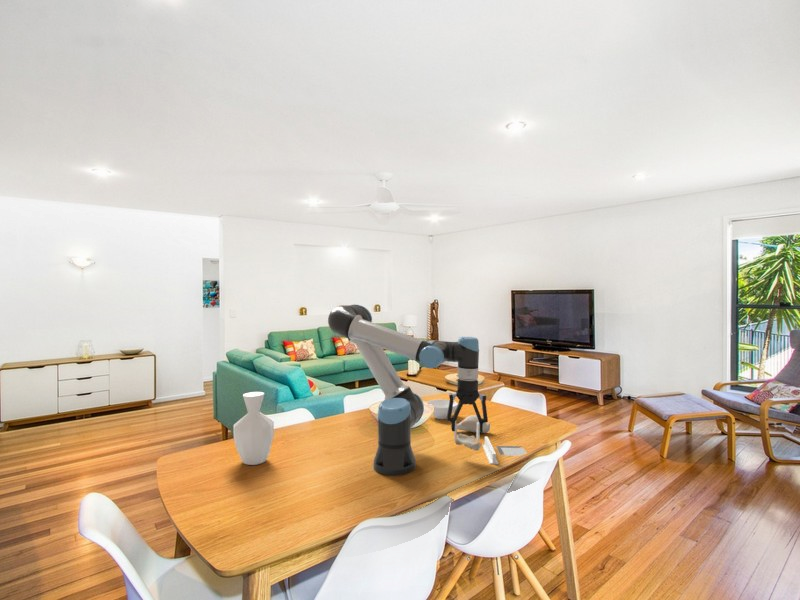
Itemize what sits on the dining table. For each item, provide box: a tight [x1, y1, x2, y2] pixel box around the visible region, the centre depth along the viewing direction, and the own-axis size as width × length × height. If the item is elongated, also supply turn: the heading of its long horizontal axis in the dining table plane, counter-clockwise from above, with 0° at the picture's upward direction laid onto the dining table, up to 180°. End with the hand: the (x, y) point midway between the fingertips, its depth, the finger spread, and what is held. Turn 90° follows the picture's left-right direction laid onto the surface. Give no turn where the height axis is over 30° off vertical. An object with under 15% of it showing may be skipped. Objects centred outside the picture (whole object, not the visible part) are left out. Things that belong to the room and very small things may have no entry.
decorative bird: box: [457, 414, 491, 434], centre depth 177 cm, size 9×16×8 cm, turn 79°
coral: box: [454, 432, 482, 451], centre depth 146 cm, size 6×10×4 cm, turn 52°
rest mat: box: [496, 445, 527, 457], centre depth 154 cm, size 12×12×1 cm
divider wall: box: [481, 436, 499, 465], centre depth 152 cm, size 3×18×4 cm, turn 177°
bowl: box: [425, 398, 459, 420], centre depth 201 cm, size 16×16×7 cm
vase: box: [232, 391, 275, 466], centre depth 148 cm, size 14×14×25 cm
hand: (466, 440), depth 147 cm, fingers closed on coral, 8 cm apart
